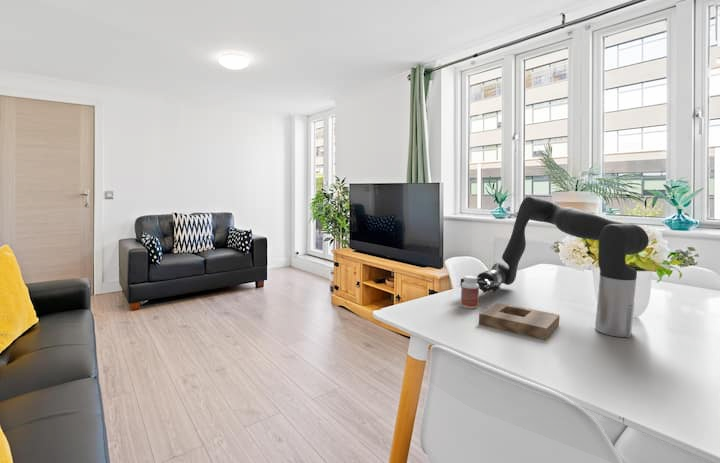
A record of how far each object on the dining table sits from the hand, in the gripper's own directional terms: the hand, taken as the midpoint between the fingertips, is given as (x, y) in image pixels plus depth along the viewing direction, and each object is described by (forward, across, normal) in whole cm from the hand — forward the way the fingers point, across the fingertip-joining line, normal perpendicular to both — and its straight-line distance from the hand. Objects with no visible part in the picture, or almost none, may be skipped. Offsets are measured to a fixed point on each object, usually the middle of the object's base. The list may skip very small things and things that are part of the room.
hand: (472, 287), depth 144 cm
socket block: (+10, +20, +7) cm, 23 cm away
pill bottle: (+3, 0, +7) cm, 7 cm away
